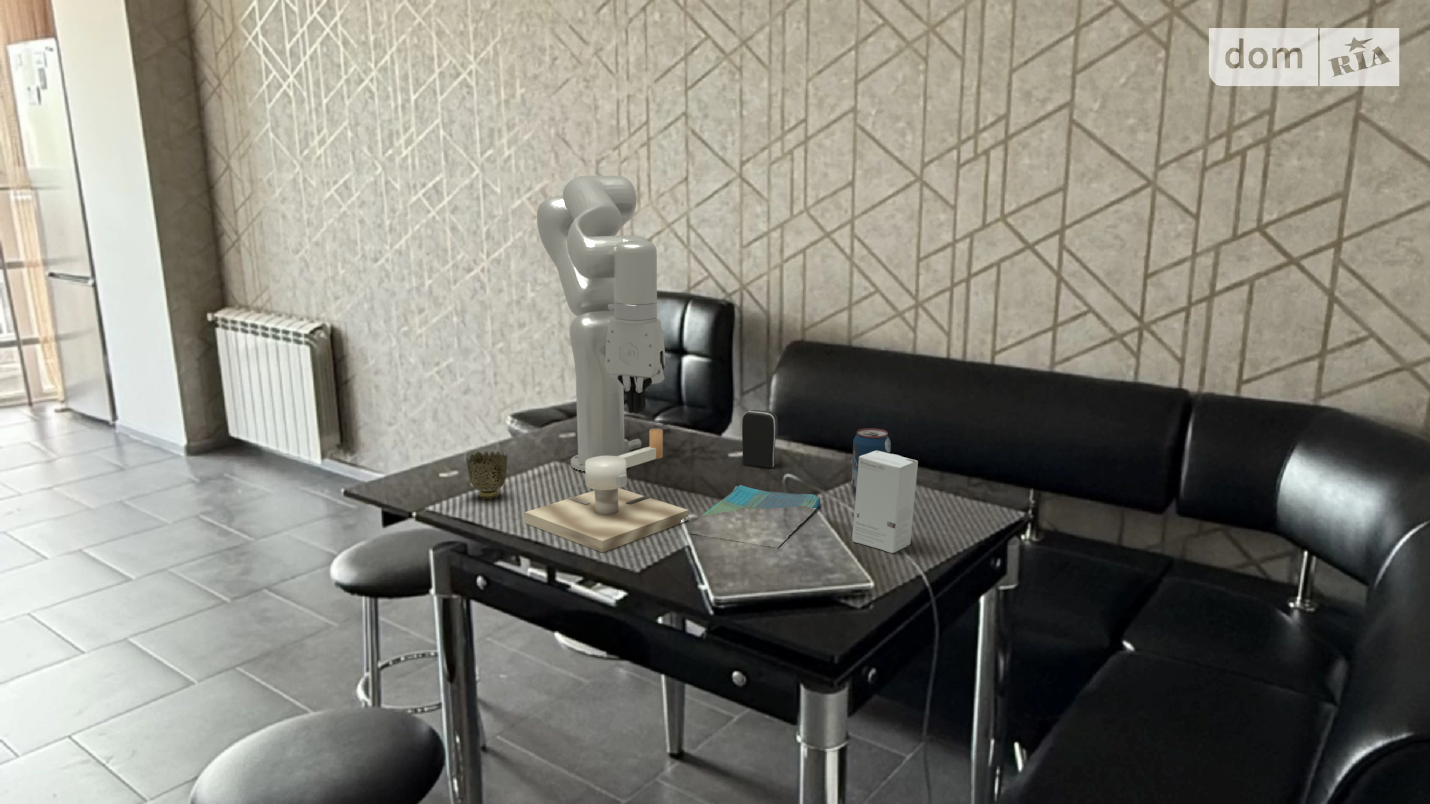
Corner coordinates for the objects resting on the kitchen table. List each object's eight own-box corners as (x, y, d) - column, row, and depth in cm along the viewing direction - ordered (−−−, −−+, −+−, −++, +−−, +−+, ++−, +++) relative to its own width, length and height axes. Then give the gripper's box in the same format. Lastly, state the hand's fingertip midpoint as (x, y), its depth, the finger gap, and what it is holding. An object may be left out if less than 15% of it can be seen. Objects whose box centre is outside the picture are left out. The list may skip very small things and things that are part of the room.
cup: (499, 505, 190) (497, 463, 188) (461, 502, 191) (459, 460, 189) (515, 492, 197) (513, 451, 195) (478, 489, 198) (476, 449, 196)
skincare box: (851, 542, 172) (854, 456, 169) (870, 532, 177) (874, 448, 173) (895, 555, 167) (899, 466, 163) (914, 544, 171) (918, 457, 168)
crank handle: (678, 470, 187) (678, 433, 185) (608, 493, 174) (607, 453, 173) (644, 461, 192) (643, 424, 191) (574, 483, 180) (573, 444, 178)
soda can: (895, 493, 197) (898, 432, 194) (874, 502, 192) (877, 439, 189) (865, 485, 201) (867, 425, 199) (844, 493, 196) (846, 432, 194)
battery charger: (779, 464, 215) (780, 410, 212) (772, 469, 211) (773, 414, 208) (747, 460, 217) (748, 407, 215) (740, 465, 214) (741, 411, 211)
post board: (610, 495, 195) (610, 461, 193) (688, 520, 182) (688, 484, 180) (525, 523, 181) (523, 486, 179) (602, 552, 168) (601, 513, 166)
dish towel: (823, 507, 190) (823, 494, 190) (779, 551, 170) (779, 537, 169) (736, 495, 197) (736, 482, 196) (684, 536, 176) (684, 522, 176)
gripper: (588, 311, 184) (590, 411, 188) (665, 318, 178) (665, 421, 183) (608, 305, 190) (609, 402, 195) (682, 311, 185) (682, 411, 190)
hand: (636, 411), depth 189 cm, fingers closed
